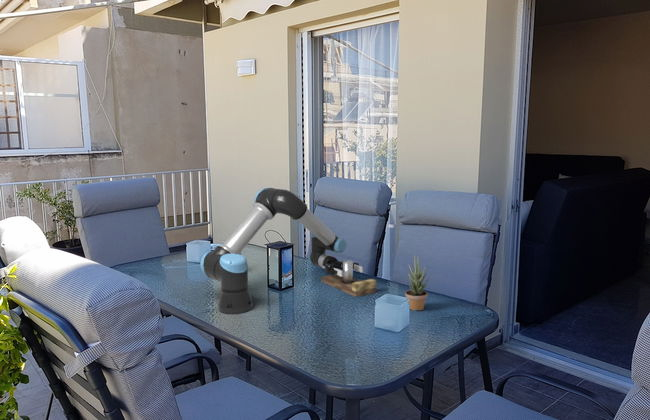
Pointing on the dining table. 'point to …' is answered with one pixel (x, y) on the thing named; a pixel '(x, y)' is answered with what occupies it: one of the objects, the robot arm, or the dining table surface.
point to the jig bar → (351, 285)
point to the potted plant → (417, 288)
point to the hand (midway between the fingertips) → (352, 271)
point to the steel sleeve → (347, 271)
